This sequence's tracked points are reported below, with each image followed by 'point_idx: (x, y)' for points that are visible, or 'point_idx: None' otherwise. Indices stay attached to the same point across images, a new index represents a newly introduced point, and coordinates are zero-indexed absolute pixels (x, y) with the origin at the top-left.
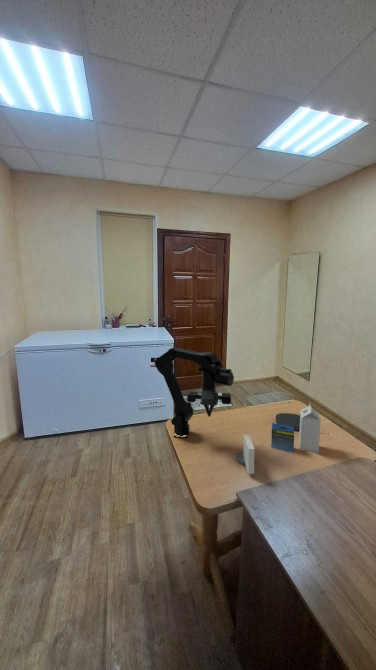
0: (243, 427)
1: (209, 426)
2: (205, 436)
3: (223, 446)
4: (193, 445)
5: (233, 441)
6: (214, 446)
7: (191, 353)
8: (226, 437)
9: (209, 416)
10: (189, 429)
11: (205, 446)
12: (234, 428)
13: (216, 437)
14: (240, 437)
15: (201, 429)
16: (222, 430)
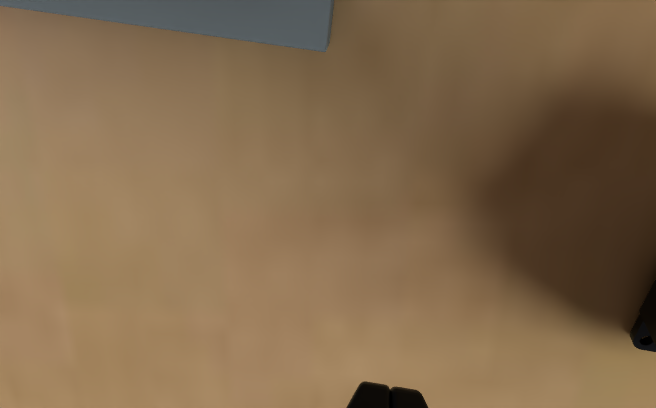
0: (43, 368)
1: None
2: (438, 239)
3: None
4: (637, 40)
5: (105, 136)
6: (335, 20)
7: None
8: (192, 214)
9: (382, 385)
10: (653, 336)
11: (461, 17)
12: (125, 359)
13: (306, 217)
14: (41, 211)
15: (471, 363)
16: (242, 335)
